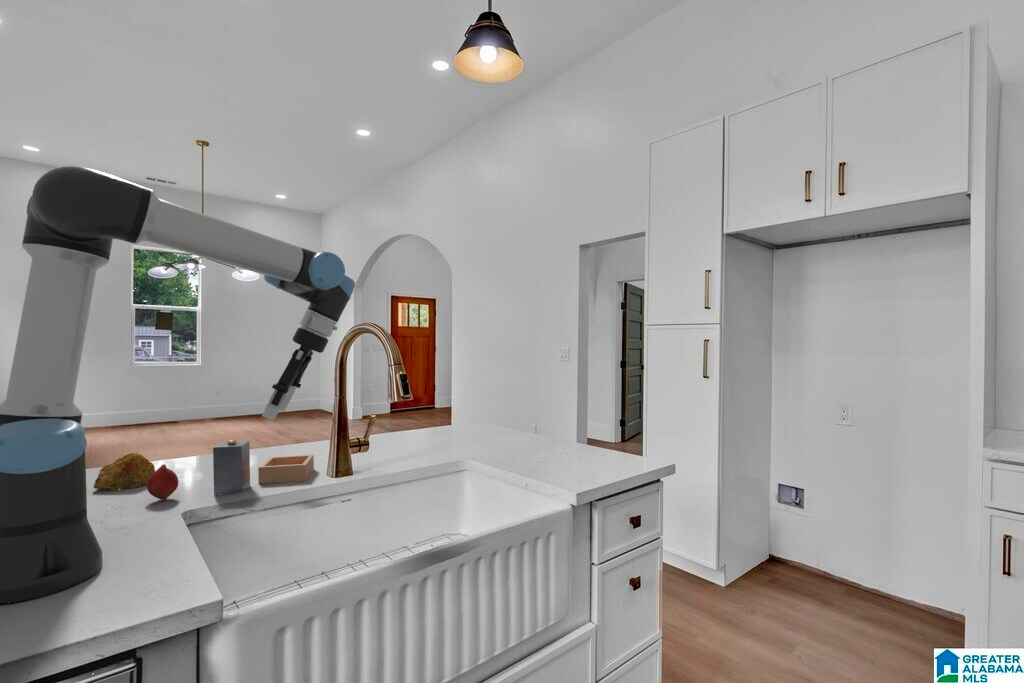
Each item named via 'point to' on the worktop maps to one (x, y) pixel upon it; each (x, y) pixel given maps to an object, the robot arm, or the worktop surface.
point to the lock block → (231, 467)
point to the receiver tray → (286, 469)
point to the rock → (125, 473)
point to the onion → (162, 483)
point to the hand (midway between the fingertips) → (273, 413)
